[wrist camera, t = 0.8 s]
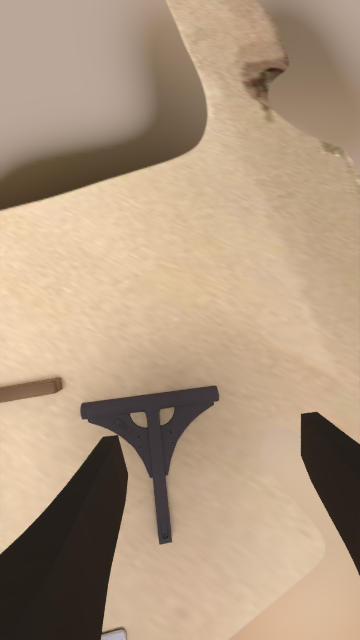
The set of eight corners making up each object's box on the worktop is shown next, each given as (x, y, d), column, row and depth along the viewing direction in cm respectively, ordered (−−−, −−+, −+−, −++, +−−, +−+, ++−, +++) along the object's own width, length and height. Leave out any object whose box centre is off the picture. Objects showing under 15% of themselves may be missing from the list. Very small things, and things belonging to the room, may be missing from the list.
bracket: (95, 545, 30) (91, 566, 28) (83, 401, 31) (77, 407, 28) (229, 519, 32) (237, 535, 30) (213, 384, 33) (220, 388, 30)
